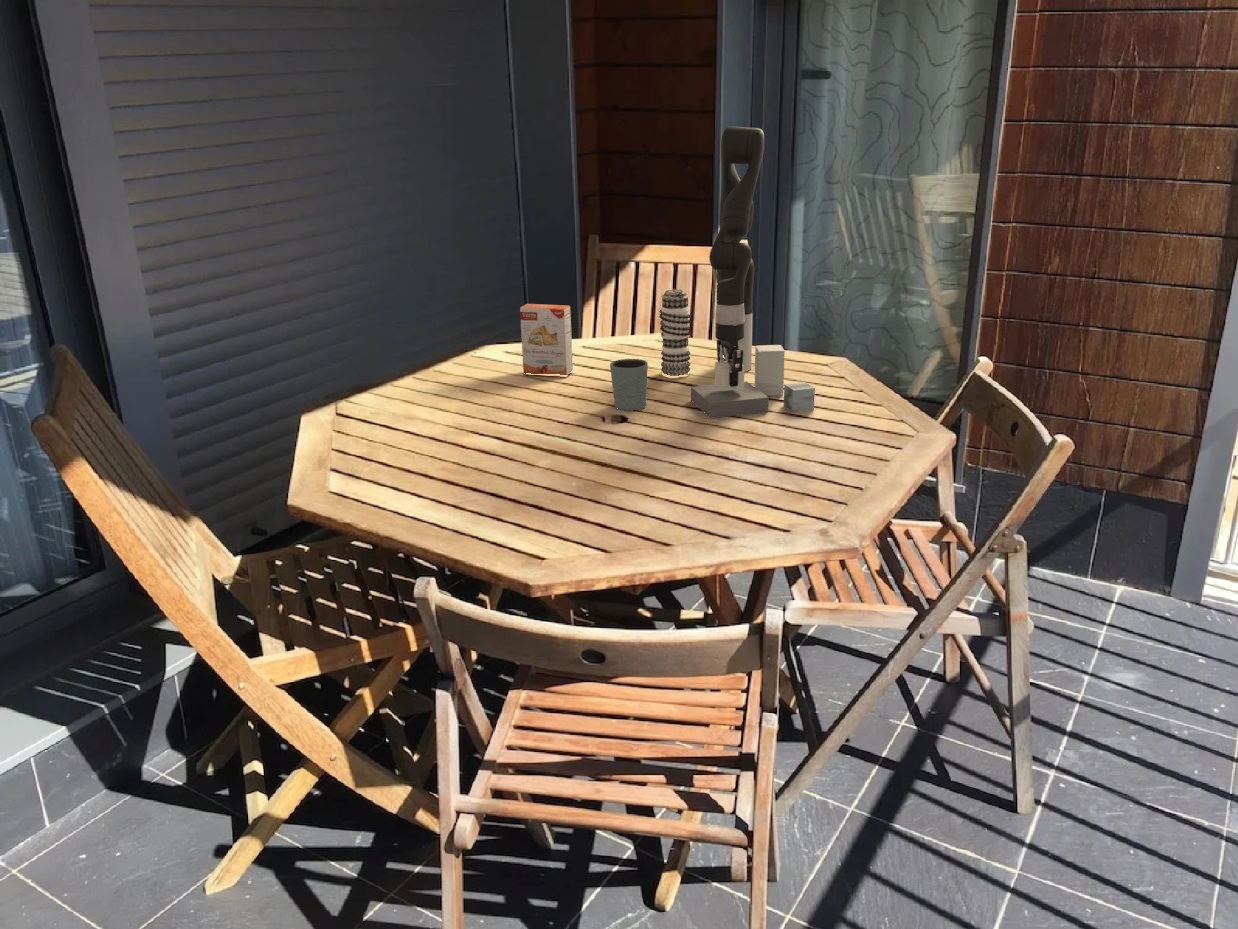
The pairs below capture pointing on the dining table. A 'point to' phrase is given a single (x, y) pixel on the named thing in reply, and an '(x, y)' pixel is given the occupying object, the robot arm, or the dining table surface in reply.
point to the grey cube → (799, 397)
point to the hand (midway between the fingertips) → (729, 382)
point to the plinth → (729, 400)
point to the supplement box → (769, 369)
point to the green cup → (629, 383)
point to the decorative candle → (675, 332)
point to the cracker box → (546, 339)
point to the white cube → (726, 376)
